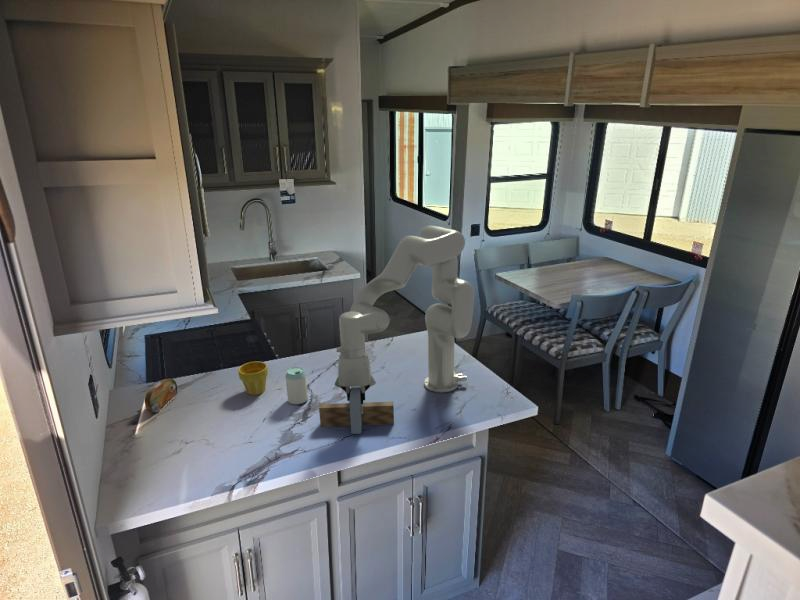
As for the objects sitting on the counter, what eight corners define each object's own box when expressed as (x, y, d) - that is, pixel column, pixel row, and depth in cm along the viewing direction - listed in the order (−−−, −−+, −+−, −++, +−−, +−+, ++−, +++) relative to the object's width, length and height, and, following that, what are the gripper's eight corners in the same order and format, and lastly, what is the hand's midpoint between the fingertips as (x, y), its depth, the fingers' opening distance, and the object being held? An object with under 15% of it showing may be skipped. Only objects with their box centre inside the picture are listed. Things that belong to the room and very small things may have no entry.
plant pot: (236, 396, 191) (232, 372, 187) (250, 383, 200) (247, 359, 197) (261, 399, 188) (258, 375, 185) (274, 385, 198) (272, 362, 194)
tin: (153, 417, 179) (149, 395, 176) (145, 416, 180) (140, 394, 177) (179, 395, 193) (175, 374, 190) (172, 394, 193) (168, 374, 191)
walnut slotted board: (393, 420, 174) (393, 401, 171) (394, 424, 171) (393, 405, 169) (321, 422, 173) (319, 404, 171) (320, 426, 171) (319, 408, 168)
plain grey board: (361, 433, 164) (359, 400, 160) (351, 433, 164) (349, 400, 160) (363, 406, 179) (361, 375, 175) (354, 406, 179) (352, 375, 175)
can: (311, 396, 189) (308, 367, 185) (303, 406, 183) (299, 376, 179) (293, 394, 191) (290, 365, 187) (284, 404, 185) (281, 374, 181)
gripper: (325, 356, 160) (330, 409, 166) (379, 355, 160) (381, 407, 166) (328, 346, 167) (332, 397, 173) (379, 344, 167) (381, 395, 173)
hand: (356, 401), depth 170 cm, fingers closed on plain grey board, 3 cm apart
